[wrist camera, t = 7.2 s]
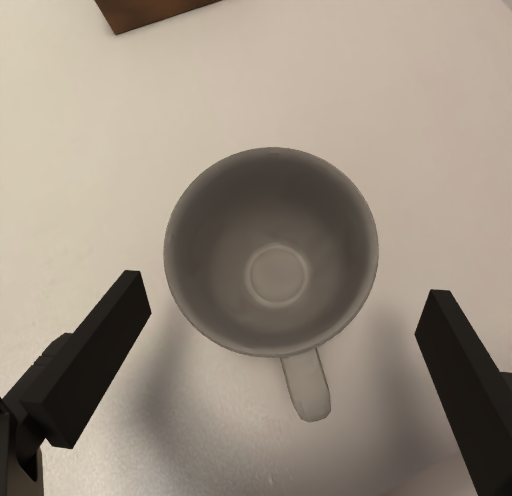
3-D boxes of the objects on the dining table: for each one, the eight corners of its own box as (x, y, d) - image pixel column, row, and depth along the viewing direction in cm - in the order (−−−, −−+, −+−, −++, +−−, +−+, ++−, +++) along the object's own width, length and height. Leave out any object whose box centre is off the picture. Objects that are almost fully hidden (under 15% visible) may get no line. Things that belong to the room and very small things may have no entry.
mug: (203, 234, 23) (144, 177, 14) (318, 201, 22) (338, 118, 13) (243, 406, 20) (201, 482, 11) (376, 371, 20) (454, 419, 10)
